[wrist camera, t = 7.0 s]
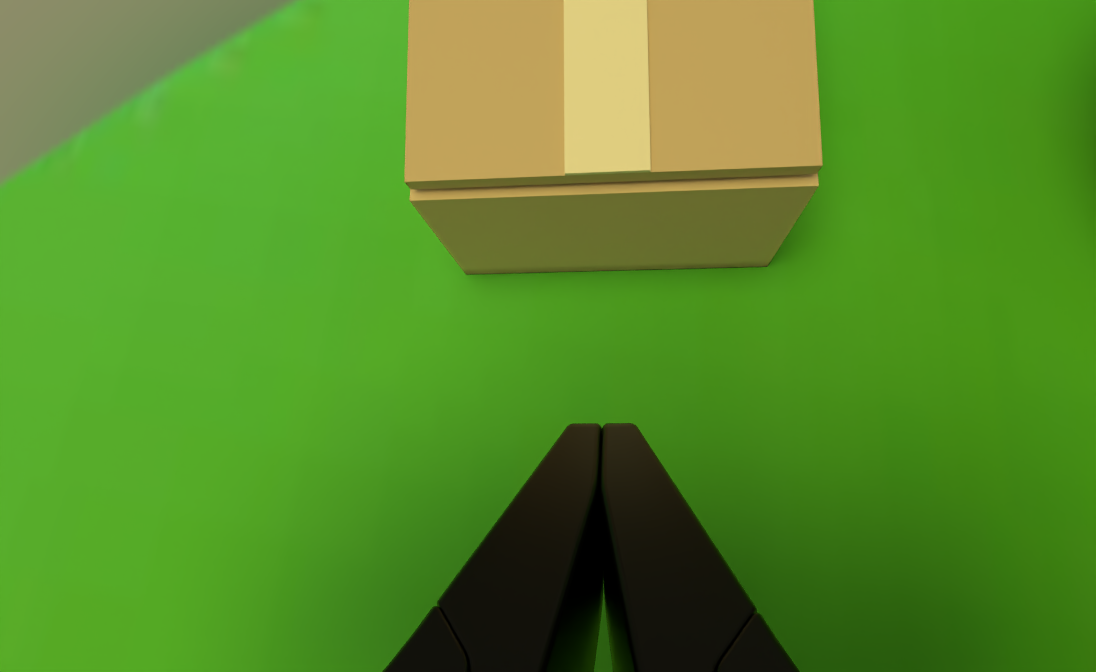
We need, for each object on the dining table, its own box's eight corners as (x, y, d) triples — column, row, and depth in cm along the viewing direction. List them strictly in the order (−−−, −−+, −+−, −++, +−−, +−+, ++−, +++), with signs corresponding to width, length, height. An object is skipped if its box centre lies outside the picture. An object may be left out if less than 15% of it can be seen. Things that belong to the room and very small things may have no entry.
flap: (816, 173, 16) (824, 163, 15) (410, 189, 17) (402, 179, 16) (798, -156, 17) (804, -179, 16) (418, -125, 18) (411, -145, 17)
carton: (767, 266, 22) (818, 186, 16) (466, 274, 23) (410, 200, 17) (753, 22, 23) (795, -133, 17) (472, 39, 24) (423, -103, 18)
